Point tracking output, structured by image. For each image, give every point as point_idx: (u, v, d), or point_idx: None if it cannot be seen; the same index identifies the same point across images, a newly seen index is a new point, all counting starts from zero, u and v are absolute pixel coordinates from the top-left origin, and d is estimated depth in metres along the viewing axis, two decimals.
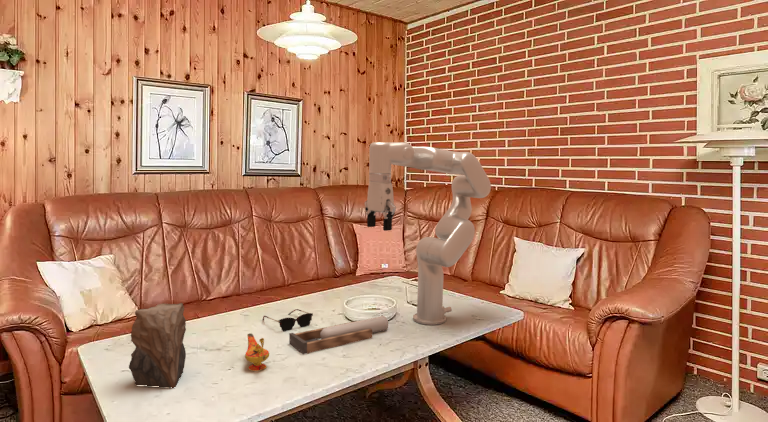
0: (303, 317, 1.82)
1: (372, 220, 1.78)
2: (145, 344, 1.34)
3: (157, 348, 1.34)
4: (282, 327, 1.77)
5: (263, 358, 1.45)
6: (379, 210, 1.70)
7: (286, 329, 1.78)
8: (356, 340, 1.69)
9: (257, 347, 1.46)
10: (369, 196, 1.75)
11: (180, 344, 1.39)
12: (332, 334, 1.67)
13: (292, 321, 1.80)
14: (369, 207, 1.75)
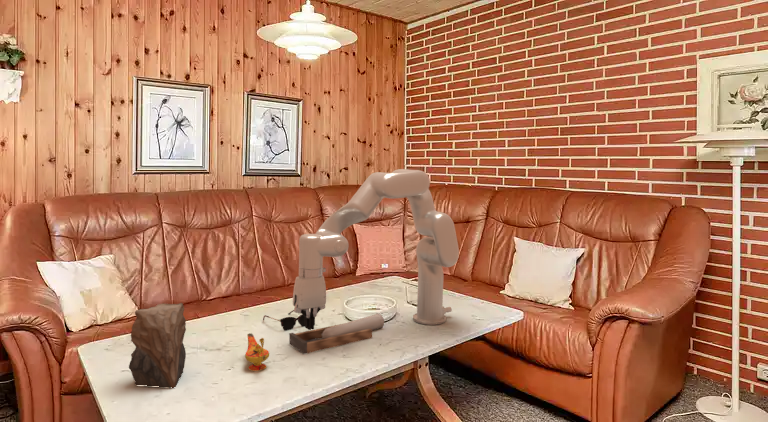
0: None
1: None
2: (145, 344, 1.34)
3: (157, 348, 1.34)
4: (283, 326, 1.78)
5: (263, 358, 1.45)
6: (320, 305, 1.63)
7: (287, 328, 1.79)
8: (356, 340, 1.69)
9: (257, 347, 1.46)
10: (305, 294, 1.59)
11: (180, 344, 1.39)
12: (334, 335, 1.67)
13: (293, 320, 1.80)
14: (304, 306, 1.60)
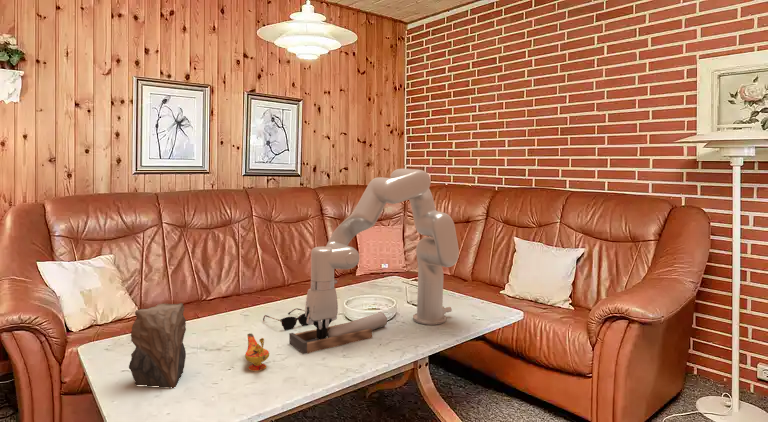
0: (304, 316, 1.84)
1: None
2: (145, 344, 1.34)
3: (157, 348, 1.34)
4: (284, 326, 1.78)
5: (263, 358, 1.45)
6: (332, 316, 1.66)
7: (288, 328, 1.79)
8: (356, 340, 1.69)
9: (257, 347, 1.46)
10: (317, 306, 1.62)
11: (180, 344, 1.39)
12: (340, 334, 1.67)
13: (294, 320, 1.81)
14: (316, 318, 1.63)
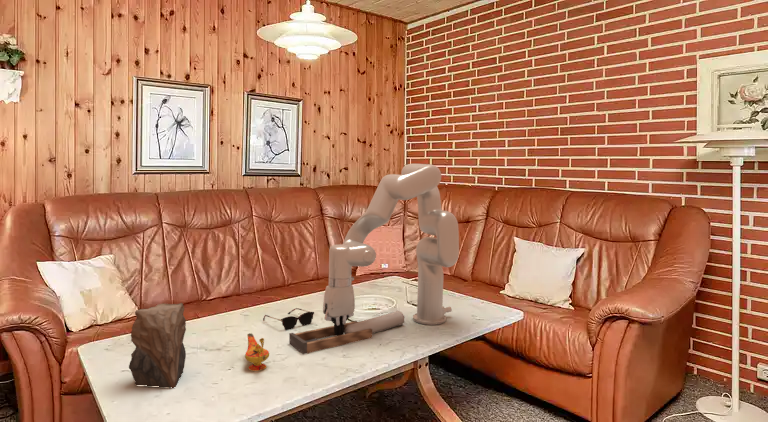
0: (305, 316, 1.84)
1: None
2: (145, 344, 1.34)
3: (157, 348, 1.34)
4: (285, 326, 1.78)
5: (263, 358, 1.45)
6: (349, 312, 1.70)
7: (288, 328, 1.79)
8: (356, 340, 1.69)
9: (257, 347, 1.46)
10: (335, 303, 1.66)
11: (180, 344, 1.39)
12: None
13: (294, 320, 1.81)
14: (334, 314, 1.67)
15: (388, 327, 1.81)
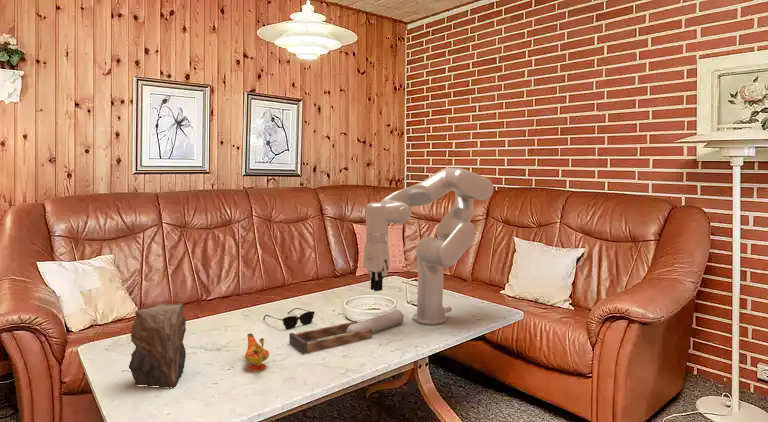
0: (305, 315, 1.84)
1: None
2: (145, 344, 1.34)
3: (157, 348, 1.34)
4: (286, 325, 1.79)
5: (263, 358, 1.45)
6: None
7: (289, 327, 1.80)
8: (356, 340, 1.69)
9: (257, 347, 1.46)
10: None
11: (180, 344, 1.39)
12: None
13: (295, 319, 1.81)
14: None
15: (388, 326, 1.82)
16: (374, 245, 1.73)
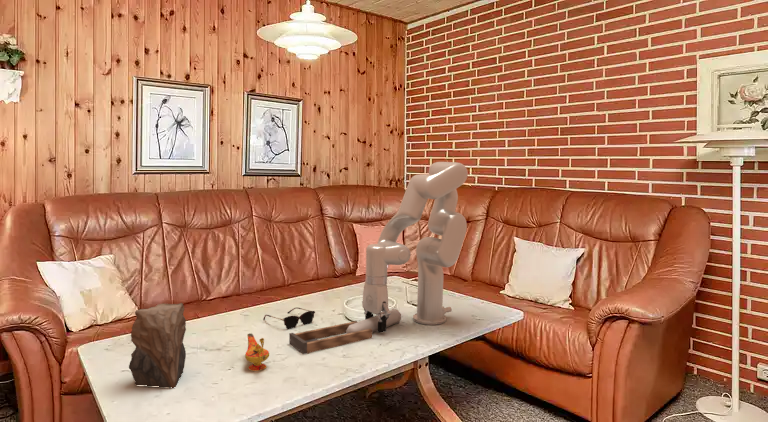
0: (306, 315, 1.85)
1: None
2: (145, 344, 1.34)
3: (157, 348, 1.34)
4: (286, 325, 1.79)
5: (263, 358, 1.45)
6: None
7: (290, 327, 1.80)
8: (356, 340, 1.69)
9: (257, 347, 1.46)
10: None
11: (180, 344, 1.39)
12: (359, 330, 1.71)
13: (296, 319, 1.82)
14: None
15: (387, 325, 1.83)
16: (373, 287, 1.74)
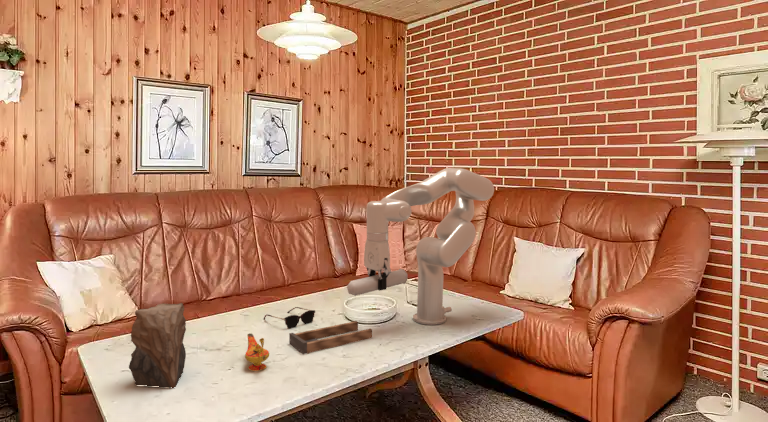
0: (306, 314, 1.86)
1: None
2: (145, 344, 1.34)
3: (157, 348, 1.34)
4: (287, 325, 1.80)
5: (263, 358, 1.45)
6: None
7: (291, 326, 1.81)
8: (356, 340, 1.69)
9: (257, 347, 1.46)
10: None
11: (180, 344, 1.39)
12: (360, 287, 1.70)
13: (296, 318, 1.82)
14: None
15: (391, 284, 1.80)
16: (375, 244, 1.73)
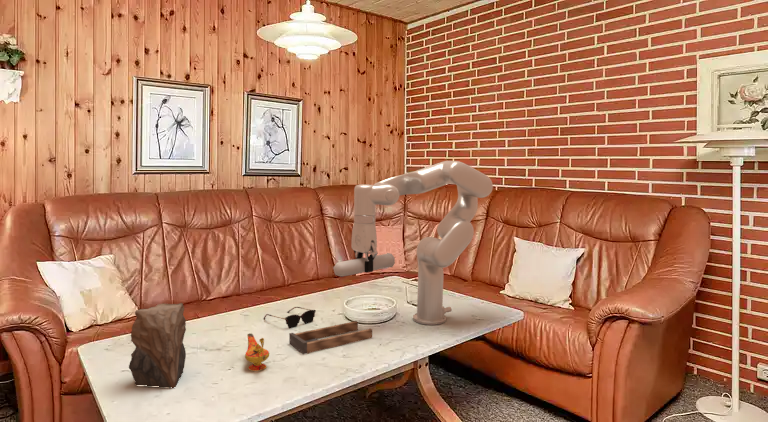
0: (307, 314, 1.86)
1: None
2: (145, 344, 1.34)
3: (157, 348, 1.34)
4: (288, 324, 1.80)
5: (263, 358, 1.45)
6: None
7: (292, 326, 1.81)
8: (356, 340, 1.69)
9: (257, 347, 1.46)
10: None
11: (180, 344, 1.39)
12: (346, 268, 1.72)
13: (297, 318, 1.83)
14: None
15: (378, 267, 1.82)
16: (362, 226, 1.75)
